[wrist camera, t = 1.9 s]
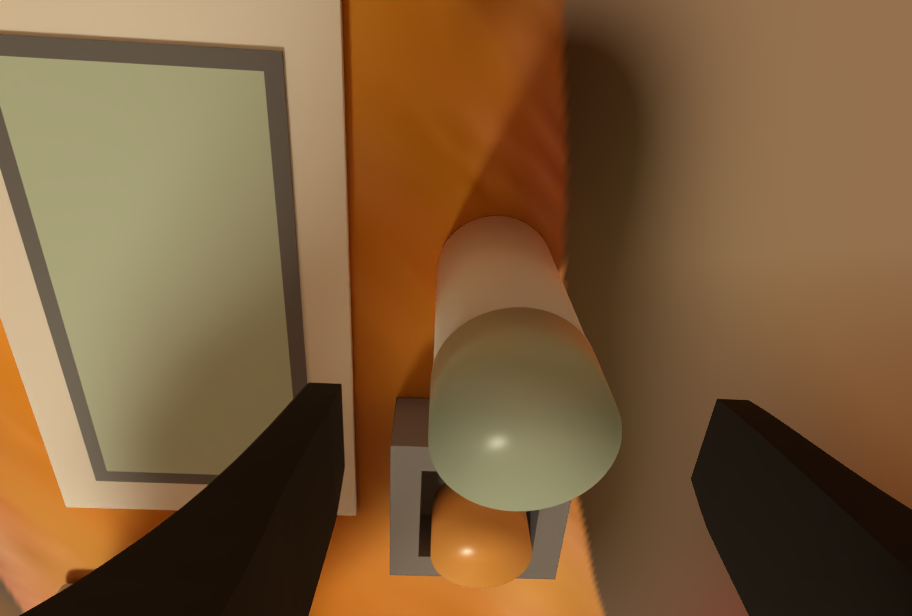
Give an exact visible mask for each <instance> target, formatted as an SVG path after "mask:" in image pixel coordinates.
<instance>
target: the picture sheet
mask: <svg viewBox="0 0 912 616" xmlns="http://www.w3.org/2000/svg"><path fill="white" fill-rule="evenodd" d="M0 318H1V321H2V324H3V327H4V330H5V332H6V335H7V338H8V341H9V344H10V347H11V350H12V353H13V355H14V358H15V361H16V364H17V367H18V370H19V373H20V376H21V378H22V381H23V384H24V387H25V390H26V393H27V396H28V399H29V401H30V404H31V407H32V410H33V413H34V416H35V419H36V421H37V424H38V427H39V430H40V433H41V436H42V439H43V442H44V444H45V447H46V450H47V453H48V456H49V459H50V462H51V465H52V467H53V470H54V473H55V476H56V479H57V482H58V485H59V488H60V490H61V493H62V496H63V499H64V502H65V505H66V507H80V508H113V509H145V510H179V509H180V508H181V507H183V506H184V505H185V504H186V503H188V502H189V501H190V500H191V499H192V498H193V497H195V496H196V495H197V494H198V493H199V492H201V491H202V490H203V489H204V488H205V487H206V486H207V485H208V484H209V483H211V482H212V481H213V480H214V479H215V478H216V477H217V476H218V475H219V474H220V473H221V472H223V471H224V470H225V469H226V468H227V467H228V466H229V465H230V464H231V463H232V462H233V461H234V460H236V459H237V458H238V457H239V456H240V455H241V454H242V453H243V452H244V451H245V450H246V449H247V448H248V447H249V446H250V445H251V444H252V443H253V442H254V440H255V439H256V438H257V437H258V436H259V435H260V434H261V433H262V432H263V431H264V430H265V429H266V428H267V427H268V426H269V425H270V424H271V423H272V422H273V421H274V420H275V419H276V417H277V416H278V415H279V414H280V413H281V412H282V411H283V410H284V409H285V408H286V406H287V405H288V404H289V403H290V402H291V401H292V400H293V398H294V397H295V396H296V395H297V394H298V393H299V392H300V391H301V389H302V388H303V387H304V386H305V385H307V384H308V383H309V382H310V383H335V384H342V408H343V431H344V455H345V469H344V476H343V482H342V488H341V495H340V501H339V506H338V512H337V515H341V516H356V514H357V489H356V455H355V422H354V389H353V356H352V323H351V289H350V256H349V223H348V190H347V157H346V124H345V90H344V57H343V24H342V0H0Z"/></svg>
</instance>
